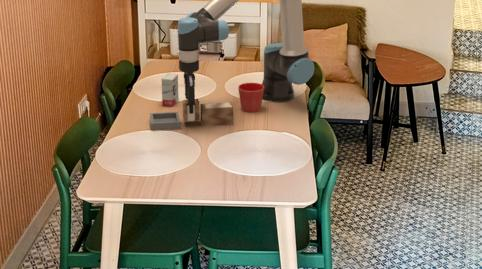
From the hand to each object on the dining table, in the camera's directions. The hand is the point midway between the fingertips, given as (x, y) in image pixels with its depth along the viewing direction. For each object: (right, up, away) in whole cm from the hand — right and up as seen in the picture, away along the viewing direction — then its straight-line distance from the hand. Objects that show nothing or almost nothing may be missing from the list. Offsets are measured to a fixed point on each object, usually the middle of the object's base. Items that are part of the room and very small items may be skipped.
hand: (190, 117), depth 266 cm
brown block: (0, 0, 0) cm, 1 cm away
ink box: (-10, +7, +23) cm, 26 cm away
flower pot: (+24, +4, +17) cm, 29 cm away
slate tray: (-10, -3, 0) cm, 10 cm away
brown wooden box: (+10, -2, +3) cm, 11 cm away
